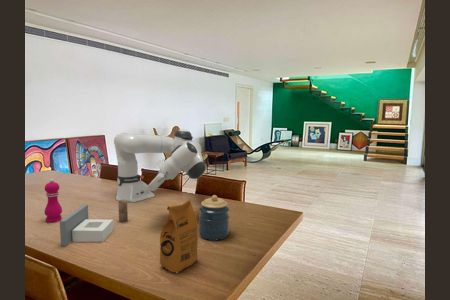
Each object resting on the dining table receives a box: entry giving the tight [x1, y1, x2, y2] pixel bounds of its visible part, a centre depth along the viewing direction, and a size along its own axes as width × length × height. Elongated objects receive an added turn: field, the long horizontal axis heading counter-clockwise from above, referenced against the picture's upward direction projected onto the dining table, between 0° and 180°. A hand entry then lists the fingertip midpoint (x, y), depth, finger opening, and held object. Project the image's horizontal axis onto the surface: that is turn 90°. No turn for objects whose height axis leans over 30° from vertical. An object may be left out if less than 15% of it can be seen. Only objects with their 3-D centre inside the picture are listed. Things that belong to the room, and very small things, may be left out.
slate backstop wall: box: [59, 204, 89, 247], centre depth 122 cm, size 2×20×10 cm, turn 2°
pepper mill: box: [44, 178, 63, 223], centre depth 137 cm, size 7×7×20 cm
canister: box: [198, 194, 230, 241], centre depth 125 cm, size 13×13×18 cm
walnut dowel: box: [117, 200, 129, 224], centre depth 139 cm, size 4×4×10 cm
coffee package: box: [159, 198, 199, 273], centre depth 100 cm, size 10×12×22 cm
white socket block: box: [72, 218, 114, 243], centre depth 122 cm, size 12×12×5 cm
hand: (147, 190), depth 137 cm, fingers open, 8 cm apart
